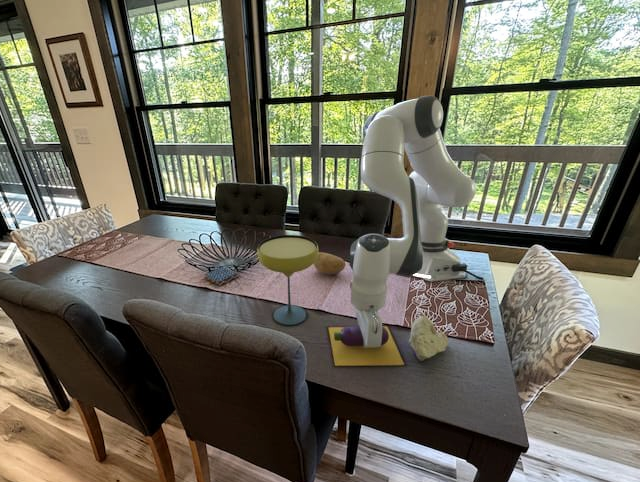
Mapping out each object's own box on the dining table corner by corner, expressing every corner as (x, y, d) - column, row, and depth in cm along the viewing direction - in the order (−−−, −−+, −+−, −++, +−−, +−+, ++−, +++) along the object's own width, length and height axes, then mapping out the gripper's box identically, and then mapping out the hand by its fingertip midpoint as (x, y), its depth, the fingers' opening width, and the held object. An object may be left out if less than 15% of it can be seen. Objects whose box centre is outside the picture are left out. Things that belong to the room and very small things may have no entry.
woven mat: (219, 286, 122) (218, 282, 121) (203, 278, 128) (202, 274, 127) (239, 276, 128) (239, 272, 127) (223, 269, 135) (223, 265, 134)
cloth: (387, 326, 96) (387, 326, 96) (404, 365, 81) (404, 364, 81) (328, 327, 96) (328, 327, 96) (335, 366, 82) (335, 365, 82)
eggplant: (384, 336, 91) (386, 321, 88) (390, 350, 86) (392, 333, 83) (332, 337, 92) (333, 322, 89) (335, 350, 87) (336, 334, 84)
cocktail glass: (315, 334, 94) (316, 260, 82) (256, 330, 97) (249, 257, 85) (318, 301, 109) (320, 235, 98) (268, 298, 113) (264, 233, 101)
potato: (338, 282, 121) (339, 264, 117) (307, 273, 129) (307, 255, 125) (349, 272, 128) (350, 254, 124) (319, 264, 135) (320, 247, 132)
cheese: (422, 335, 94) (390, 314, 89) (445, 325, 90) (412, 303, 84) (435, 384, 84) (399, 364, 78) (461, 375, 79) (425, 354, 74)
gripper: (391, 320, 72) (384, 364, 78) (371, 277, 90) (367, 316, 97) (364, 320, 72) (359, 364, 79) (349, 277, 90) (346, 316, 97)
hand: (363, 337), depth 88 cm, fingers closed on eggplant, 5 cm apart
